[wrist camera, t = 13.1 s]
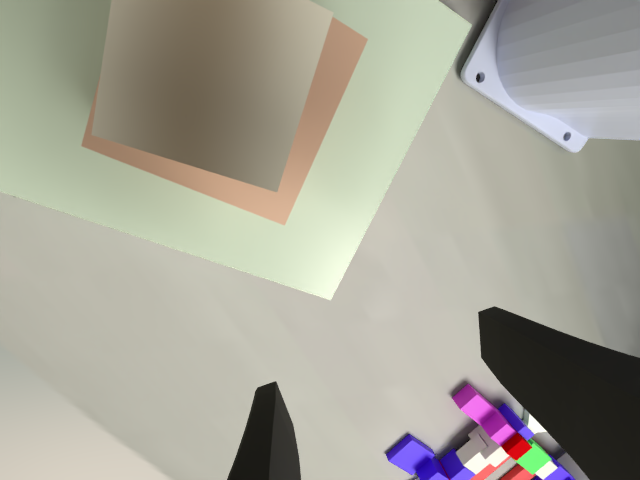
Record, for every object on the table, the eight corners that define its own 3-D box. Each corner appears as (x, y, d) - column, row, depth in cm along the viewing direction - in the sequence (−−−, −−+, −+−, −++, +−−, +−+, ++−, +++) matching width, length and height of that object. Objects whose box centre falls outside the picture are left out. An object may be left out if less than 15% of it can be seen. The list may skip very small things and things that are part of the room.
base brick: (346, 54, 15) (368, 39, 12) (279, 208, 17) (284, 225, 14) (170, -53, 13) (147, -102, 10) (113, 141, 15) (81, 145, 12)
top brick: (302, 54, 12) (333, 12, 8) (268, 168, 13) (277, 192, 9) (179, -1, 11) (125, -92, 6) (153, 130, 12) (91, 134, 7)
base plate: (459, 30, 17) (472, 25, 16) (327, 292, 20) (330, 300, 19) (64, -256, 11) (47, -290, 10) (-21, 175, 15) (-39, 178, 14)
